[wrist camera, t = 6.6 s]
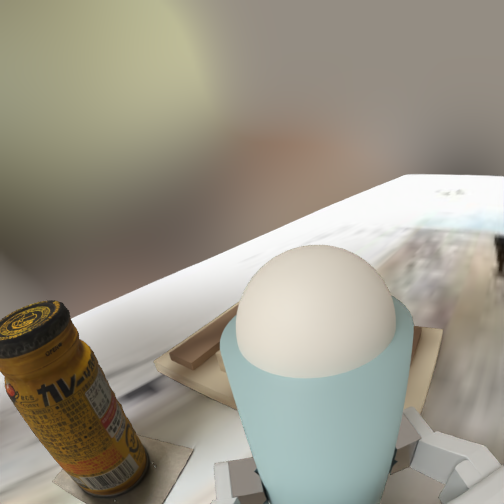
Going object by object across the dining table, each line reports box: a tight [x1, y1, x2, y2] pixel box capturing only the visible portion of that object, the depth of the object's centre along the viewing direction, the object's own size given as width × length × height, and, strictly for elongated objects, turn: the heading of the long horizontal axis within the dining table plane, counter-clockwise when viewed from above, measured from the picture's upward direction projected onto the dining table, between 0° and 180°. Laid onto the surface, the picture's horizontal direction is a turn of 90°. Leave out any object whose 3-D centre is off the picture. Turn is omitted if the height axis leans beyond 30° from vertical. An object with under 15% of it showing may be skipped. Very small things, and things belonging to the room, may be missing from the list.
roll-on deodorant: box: [220, 245, 414, 504], centre depth 9 cm, size 4×4×15 cm
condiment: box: [0, 301, 194, 504], centre depth 14 cm, size 7×8×12 cm
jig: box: [154, 301, 443, 415], centre depth 25 cm, size 22×13×3 cm, turn 54°
